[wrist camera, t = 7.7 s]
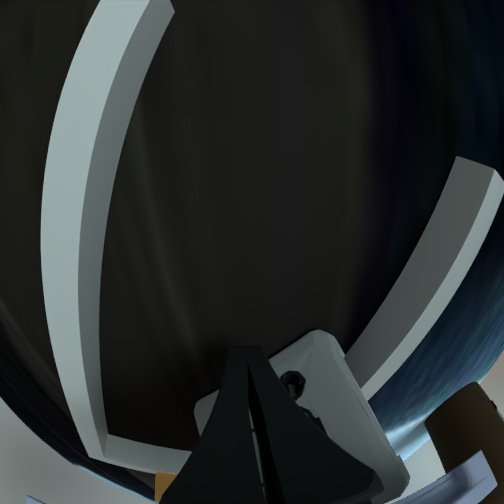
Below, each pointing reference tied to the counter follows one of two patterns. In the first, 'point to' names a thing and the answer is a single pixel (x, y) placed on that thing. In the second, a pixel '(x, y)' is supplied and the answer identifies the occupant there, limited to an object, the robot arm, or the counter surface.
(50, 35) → the counter surface
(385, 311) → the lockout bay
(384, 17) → the counter surface
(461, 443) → the olive oil
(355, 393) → the electrical switch
